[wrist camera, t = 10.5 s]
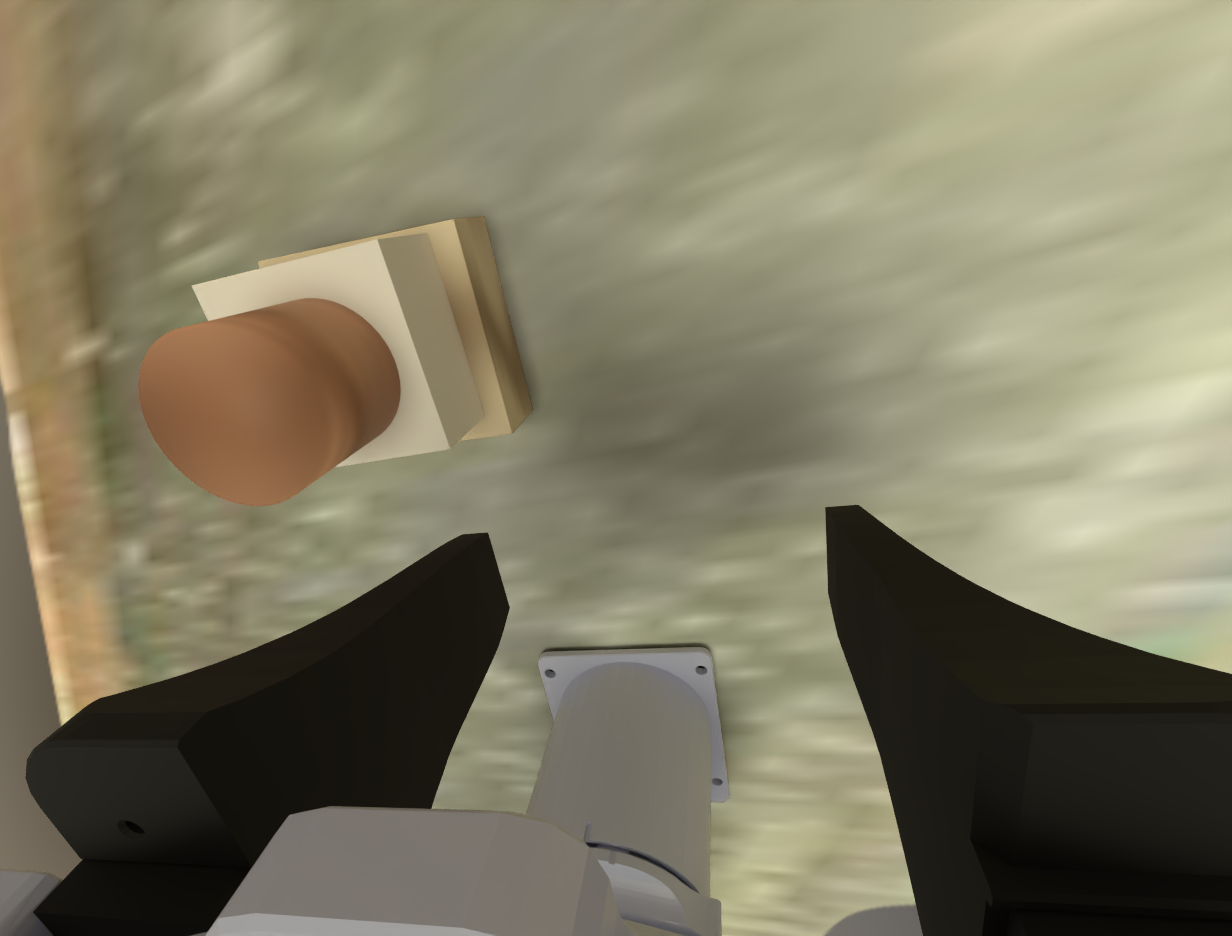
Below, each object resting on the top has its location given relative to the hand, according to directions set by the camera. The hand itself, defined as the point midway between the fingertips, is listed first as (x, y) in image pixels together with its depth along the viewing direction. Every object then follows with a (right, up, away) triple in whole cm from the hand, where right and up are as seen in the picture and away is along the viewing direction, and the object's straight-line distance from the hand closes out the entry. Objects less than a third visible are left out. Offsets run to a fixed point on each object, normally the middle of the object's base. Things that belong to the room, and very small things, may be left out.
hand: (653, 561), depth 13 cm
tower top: (-9, +6, +7) cm, 13 cm away
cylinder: (-9, +5, +5) cm, 11 cm away
